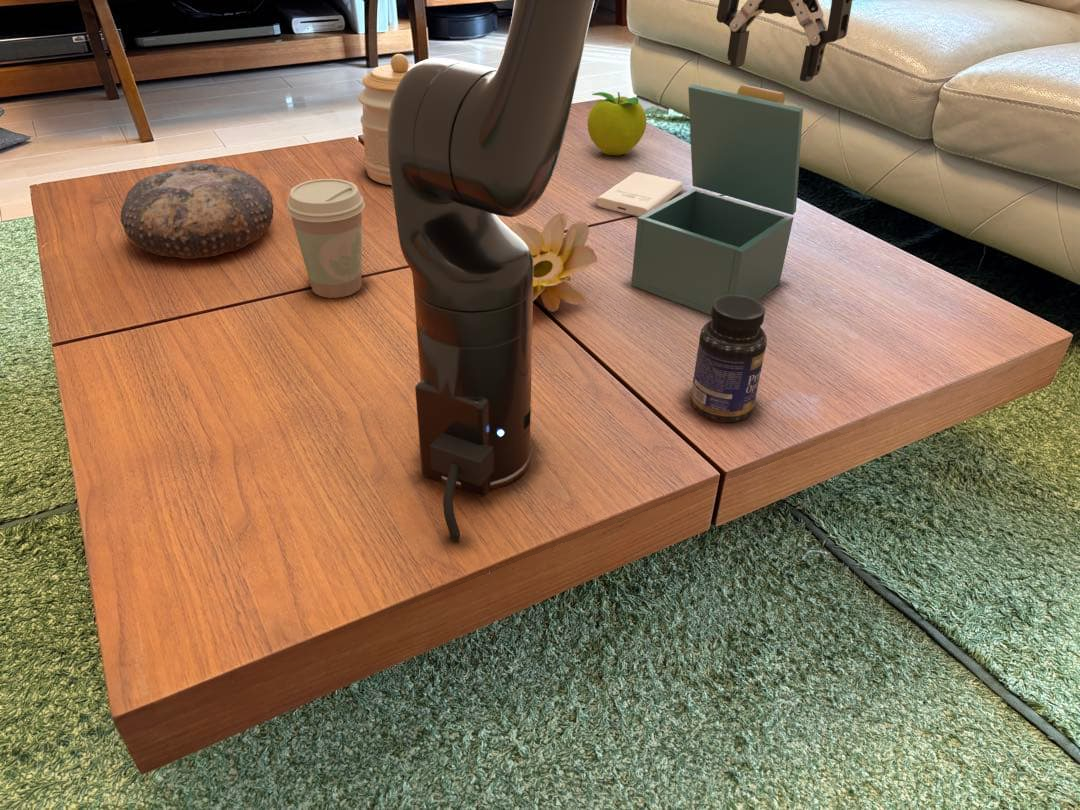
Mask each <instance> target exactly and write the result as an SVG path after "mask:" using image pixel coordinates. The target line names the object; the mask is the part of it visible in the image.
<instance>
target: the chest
mask: <svg viewBox="0 0 1080 810" xmlns="http://www.w3.org/2000/svg"><path fill="white" fill-rule="evenodd" d="M793 222H794V216H792V215H791V216H790V215H787V214H784V213H780V212H778V211H774V210H770V209H768V208H767V209H766V208H765V207H761V206H758V205H754V204H751V203H747V202H744V201H741V200H740V201H739V200H736V199H734V198H730V197H727V196H723V195H720V194H717V193H713V192H710V191H706V190H703V189H699V188H696V187H693V188H690V189H689V190H687V191H685V192H683V193H682V194H680V195H678V196H676V197H673V198H671V199H670V200H669V201H668V202H666V203H665V204H663V205H661V206H659V207H657V208H655V209H653V210H651V211H650V212H648V213H646V214H644V215H642V216H640V217H638V216H637V220H636V230H635V240H634V241H635V242H634V253H633V261H632V272H631V282H630V283H631V286H632V287H635V288H636V289H640V290H642V291H644V292H645V291H646V292H648V293H650V294H653V295H655V296H659V297H661V298H664V299H666V300H669V301H672V302H674V303H676V304H679V305H682V306H684V307H687V308H690V309H693V310H696V311H698V312H701V313H704V314H706V315H709V316H711V311H712V306H713V303H714V301H715V300H716V299H717V298H719V297H722V296H726V295H740V296H746V297H750V298H753V299H755V300H757V301H759V300H761V299H762V298H764V297H765V296H766V295H767V294H768V293H770V292H771V291H773V290H774V289H775V288H776V287H778V286H779V285H780V284H781V279H782V275H783V269H784V264H785V259H786V255H787V250H788V246H789V242H790V238H791V237H790V236H791V232H792V228H793V227H792V226H793Z"/></svg>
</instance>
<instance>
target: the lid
mask: <svg viewBox="0 0 1080 810" xmlns="http://www.w3.org/2000/svg"><path fill="white" fill-rule="evenodd" d="M687 89H688V90H687V91H688V111H689V134H690V135H689V136H690V158H691V160H690V161H691V176H692V177H691V182H692V187H693V188H697V189H700V190H704V191H707V192H711V193H714V194H718V195H721V196H724V197H728V198H731V199H735V200H736V199H737V200H738V201H739V200H740V201H742V202H745V203H749V204H752V205H755V206H759V207H762V208H767V209H769V210H770V209H771V210H773V211H774V210H775V211H776V212H782V213H783V214H784V213H785V214H786V215H787V214H788V215H791V216H794V215H795V213H796V212H797V204H798V203H797V201H798V188H799V174H800V159H801V144H802V130H803V118H804V117H803V116H804V115H803V114H804V108H803V107H799V106H794V105H791V104H786V103H785V101H786V95H785V93H784V92H780V91H776V90H771V89H766V88H761V87H757V86H752V85H749V84H748V85H747V84H741V85H740V86H739V88H738V89H737V92H736V93H734V92H731V91H726V90H721V89H716V88H712V87H707V86H704V85H698V84H693V83H691V84H690V85H689V86H688V88H687Z"/></svg>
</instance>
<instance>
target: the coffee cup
mask: <svg viewBox="0 0 1080 810" xmlns="http://www.w3.org/2000/svg"><path fill="white" fill-rule="evenodd" d="M288 195H289V196H288V199H287V203H286V206H287V208H286V212H287V213H288V215H289V216H290V217H291V221H292V224H293V228H294V231H295V236H296V238H297V242H298V245H299V249H300V252H301V256H302V260H303V262H304V263H303V264H304V266H305V270H306V274H307V276H308V281H309V283H310V287H311V291H312V292H313V293H314V294H315V295H317V296H320V297H322V298H329V299H337V298H344V297H347V296H348V297H350V296H351V295H353V294H356V293H357V292H358V291H359V290H360V289H361V287H362V277H363V275H362V271H363V270H362V269H363V263H362V262H363V249H362V248H363V210H364V209H365V205H366V204H365V201H364V198H363V196H362V195H361V193H360V190H359V188H358V186H357V185H356V184H355V183H353V182H351V181H349V180H346V179H339V178H319V179H312V180H307V181H303V182H301V183H298V184H296V185H295V186H293V187H292V188H291V189H290V191H289V194H288Z"/></svg>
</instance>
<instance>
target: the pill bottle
mask: <svg viewBox="0 0 1080 810" xmlns="http://www.w3.org/2000/svg"><path fill="white" fill-rule="evenodd" d="M765 315H766V307H765V306H764V305H763V303H761V302H760V301H759V300H758V301H757V300H755V299H753V298H750V297H746V296H740V295H726V296H722V297H719V298H717V299H716V300H715V301H714V303H713V306H712V311H711V315H710V316H711V319H710V320H709V321H707V322H706V323H705V324H704V325H703V326H702V328H701V330H700V333H699V334H700V335H699V338H698V347H697V353H696V359H695V367H694V372H693V379H692V385H691V393H690V402H691V405H692V406H693V408H694V410H695V411H696V412H697V413H699V414H700V415H701V416H703V417H705V418H707V419H709V420H712V421H715V422H721V423H735V422H740V421H742V420H745V419H746V418H748V417H750V415H751V414H752V413H753V410H754V407H755V402H756V397H757V392H758V388H759V383H760V379H761V373H762V368H763V364H764V359H765V353H766V349H767V344H768V339H767V335H766V332H765V331H764V329H763V327H761V326H762V325H763V323H764V320H765Z"/></svg>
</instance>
